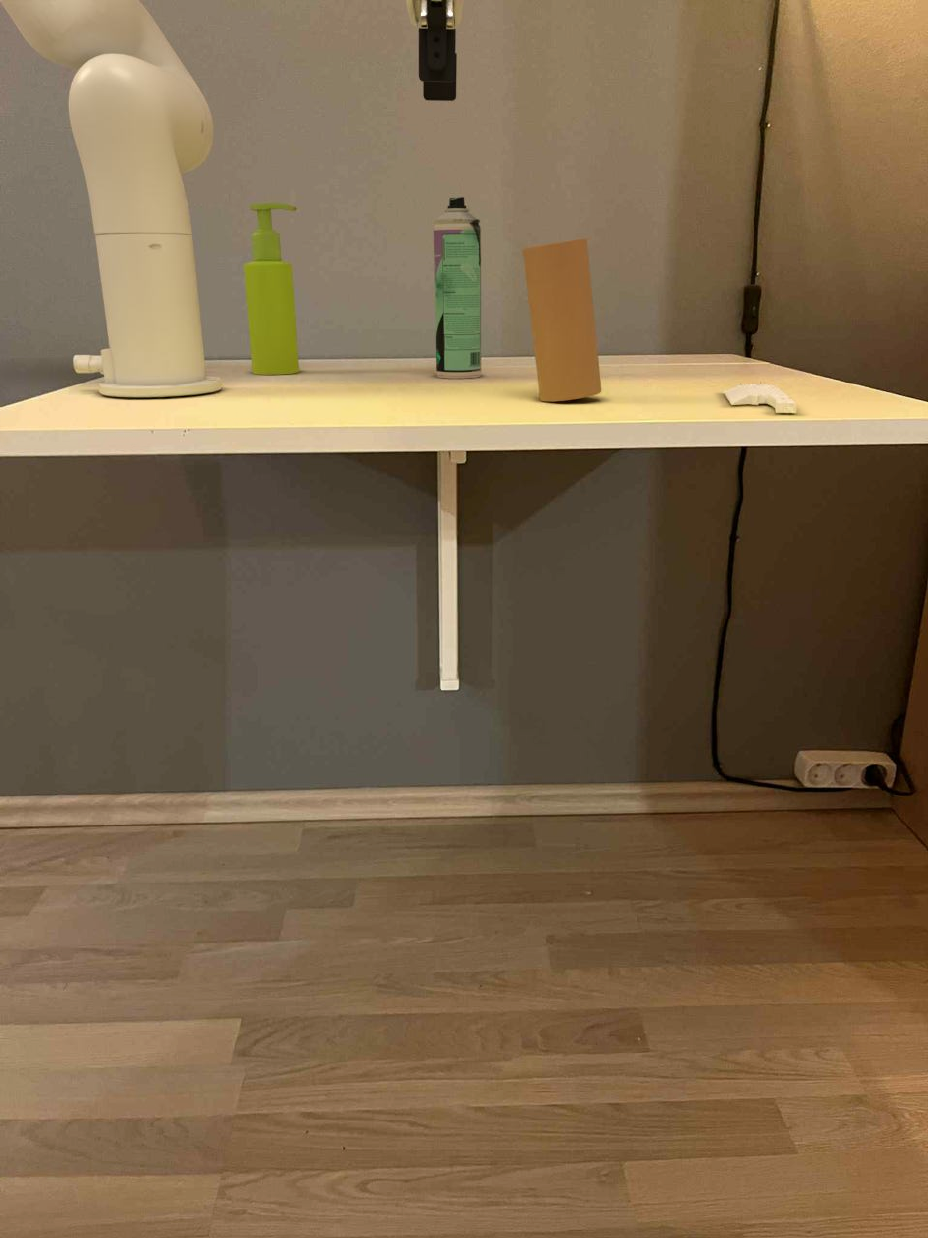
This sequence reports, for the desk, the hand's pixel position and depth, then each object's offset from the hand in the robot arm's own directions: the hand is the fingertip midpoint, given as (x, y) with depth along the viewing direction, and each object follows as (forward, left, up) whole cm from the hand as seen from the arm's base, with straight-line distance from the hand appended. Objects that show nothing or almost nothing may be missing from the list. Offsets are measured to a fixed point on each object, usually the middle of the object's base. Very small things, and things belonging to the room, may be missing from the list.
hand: (438, 90), depth 88 cm
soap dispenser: (-21, +26, -28) cm, 44 cm away
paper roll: (+9, -5, -21) cm, 23 cm away
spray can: (+2, +19, -28) cm, 34 cm away
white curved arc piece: (+30, -9, -28) cm, 42 cm away
